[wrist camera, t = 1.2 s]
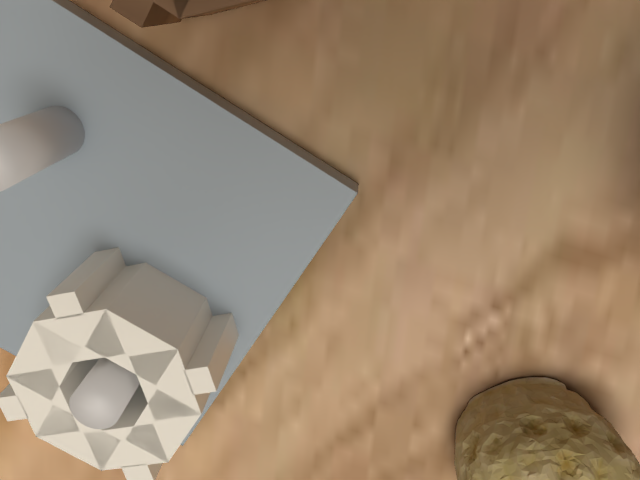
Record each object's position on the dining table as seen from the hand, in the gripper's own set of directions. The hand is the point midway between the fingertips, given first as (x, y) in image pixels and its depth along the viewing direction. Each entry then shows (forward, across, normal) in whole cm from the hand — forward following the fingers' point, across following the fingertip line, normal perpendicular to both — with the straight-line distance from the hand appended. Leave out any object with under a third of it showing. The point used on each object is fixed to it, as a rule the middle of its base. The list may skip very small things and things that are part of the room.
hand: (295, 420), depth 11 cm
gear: (+18, -12, -10) cm, 24 cm away
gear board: (+20, -13, -4) cm, 24 cm away
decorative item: (+20, +10, -17) cm, 29 cm away
